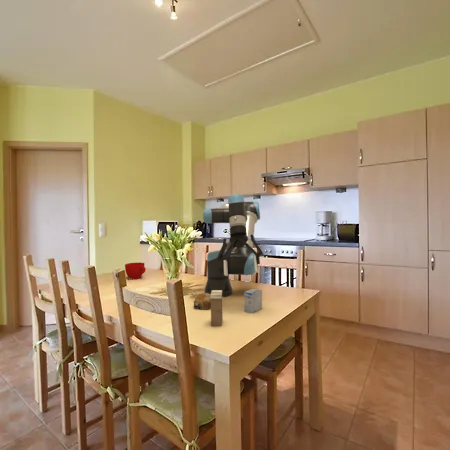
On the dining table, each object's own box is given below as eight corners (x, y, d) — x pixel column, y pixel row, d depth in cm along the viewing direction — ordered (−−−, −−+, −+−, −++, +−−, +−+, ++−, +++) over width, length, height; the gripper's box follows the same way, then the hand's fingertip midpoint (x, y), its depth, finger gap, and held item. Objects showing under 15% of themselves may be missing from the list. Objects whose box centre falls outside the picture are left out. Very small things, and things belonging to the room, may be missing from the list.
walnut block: (212, 320, 108) (212, 290, 108) (222, 320, 108) (222, 290, 108) (211, 326, 102) (210, 294, 102) (221, 326, 102) (221, 294, 102)
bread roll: (214, 317, 122) (221, 300, 122) (193, 309, 119) (201, 292, 120) (209, 310, 131) (215, 294, 132) (190, 303, 128) (196, 287, 129)
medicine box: (253, 306, 124) (253, 287, 124) (262, 308, 121) (262, 289, 121) (243, 311, 118) (243, 291, 118) (252, 313, 115) (252, 293, 115)
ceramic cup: (137, 281, 178) (137, 266, 178) (121, 279, 188) (120, 264, 187) (152, 278, 189) (152, 263, 189) (136, 275, 198) (136, 262, 198)
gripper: (209, 228, 123) (210, 275, 116) (263, 220, 117) (268, 269, 109) (214, 233, 130) (216, 277, 123) (266, 225, 123) (271, 272, 116)
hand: (241, 273), depth 116 cm, fingers open, 13 cm apart
